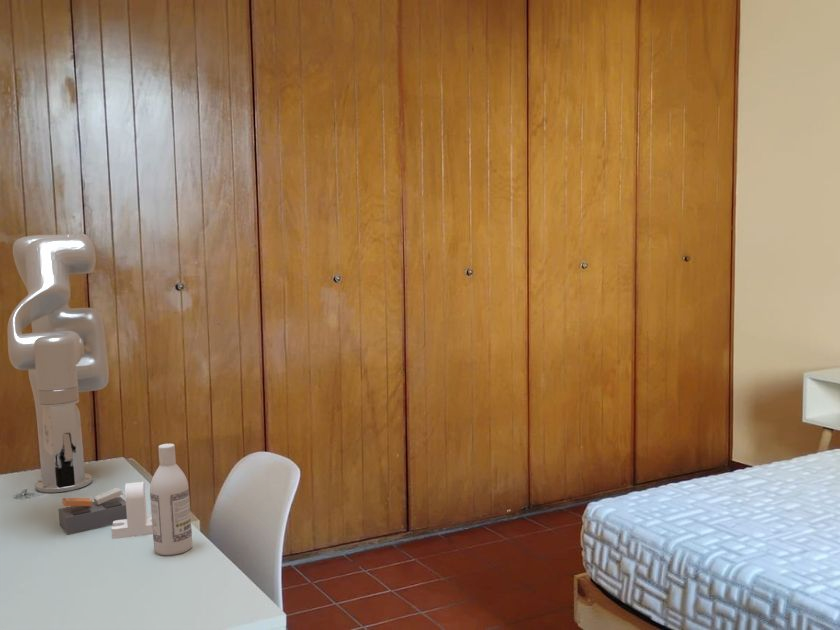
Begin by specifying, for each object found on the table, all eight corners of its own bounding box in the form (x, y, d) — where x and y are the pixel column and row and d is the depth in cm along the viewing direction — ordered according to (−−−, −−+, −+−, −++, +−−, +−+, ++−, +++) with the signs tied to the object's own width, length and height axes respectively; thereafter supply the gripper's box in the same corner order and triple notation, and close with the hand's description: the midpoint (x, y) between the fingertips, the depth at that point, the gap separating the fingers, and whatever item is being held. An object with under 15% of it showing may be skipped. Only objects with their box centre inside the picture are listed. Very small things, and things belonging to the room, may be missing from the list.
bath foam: (196, 541, 161) (190, 439, 159) (186, 555, 155) (179, 449, 152) (161, 542, 162) (153, 441, 159) (149, 557, 155) (141, 450, 153)
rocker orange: (61, 502, 172) (62, 497, 172) (88, 502, 175) (88, 497, 175) (64, 506, 170) (65, 501, 170) (91, 506, 173) (92, 500, 173)
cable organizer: (114, 530, 170) (110, 482, 169) (165, 523, 172) (161, 476, 171) (111, 539, 165) (108, 489, 163) (164, 532, 167) (161, 483, 166)
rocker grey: (94, 501, 176) (93, 496, 176) (119, 491, 179) (117, 486, 178) (98, 504, 174) (96, 499, 173) (122, 494, 176) (121, 489, 176)
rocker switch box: (57, 522, 175) (55, 504, 175) (117, 509, 182) (116, 492, 182) (67, 534, 168) (65, 516, 167) (130, 520, 175) (129, 503, 174)
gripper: (31, 394, 173) (38, 481, 175) (46, 404, 161) (54, 498, 162) (69, 389, 177) (76, 475, 179) (87, 398, 165) (94, 490, 167)
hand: (65, 485), depth 171 cm, fingers closed
